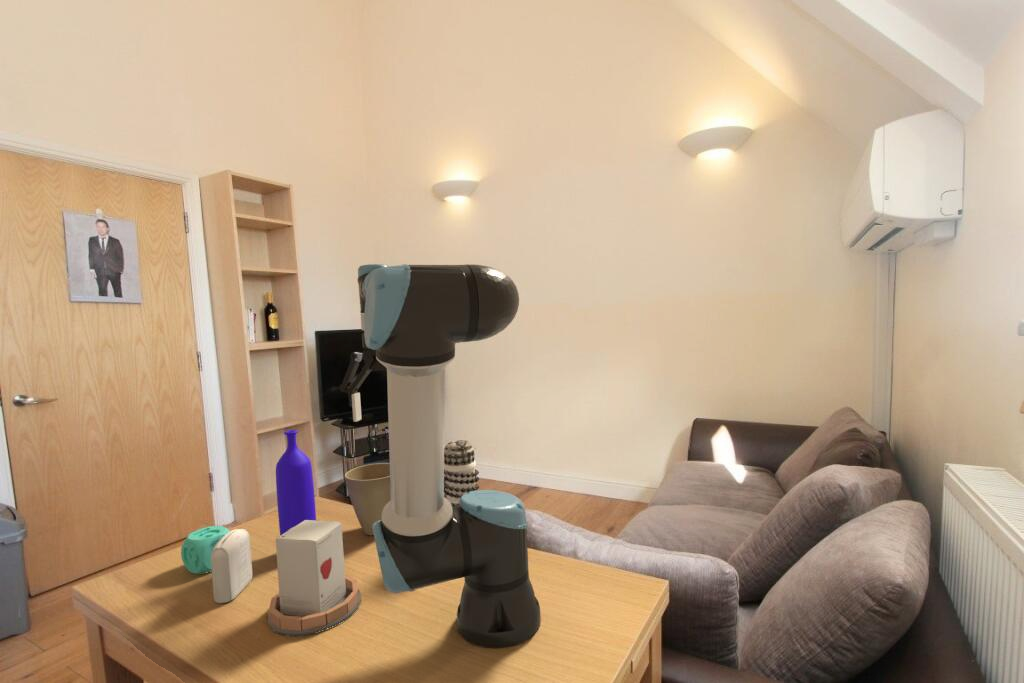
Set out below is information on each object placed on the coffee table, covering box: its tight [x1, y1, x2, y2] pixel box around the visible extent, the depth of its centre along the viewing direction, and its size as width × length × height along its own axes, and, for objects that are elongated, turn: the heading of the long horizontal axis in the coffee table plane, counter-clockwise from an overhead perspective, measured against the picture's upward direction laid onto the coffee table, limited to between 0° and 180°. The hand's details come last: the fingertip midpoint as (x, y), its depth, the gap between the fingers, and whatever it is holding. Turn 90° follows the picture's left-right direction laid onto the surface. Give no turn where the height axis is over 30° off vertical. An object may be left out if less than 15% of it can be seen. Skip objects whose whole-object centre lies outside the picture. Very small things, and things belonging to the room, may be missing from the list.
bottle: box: [275, 429, 317, 536], centre depth 123 cm, size 8×8×30 cm
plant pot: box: [344, 462, 391, 536], centre depth 135 cm, size 15×15×16 cm
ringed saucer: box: [267, 573, 362, 637], centre depth 99 cm, size 17×17×3 cm
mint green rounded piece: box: [180, 525, 231, 575], centre depth 119 cm, size 8×8×8 cm
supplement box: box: [275, 520, 346, 616], centre depth 99 cm, size 9×9×15 cm
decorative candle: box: [444, 440, 480, 507], centre depth 124 cm, size 9×9×25 cm
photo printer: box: [211, 528, 254, 604], centre depth 107 cm, size 10×4×12 cm, turn 3°
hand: (384, 420), depth 121 cm, fingers open, 13 cm apart
